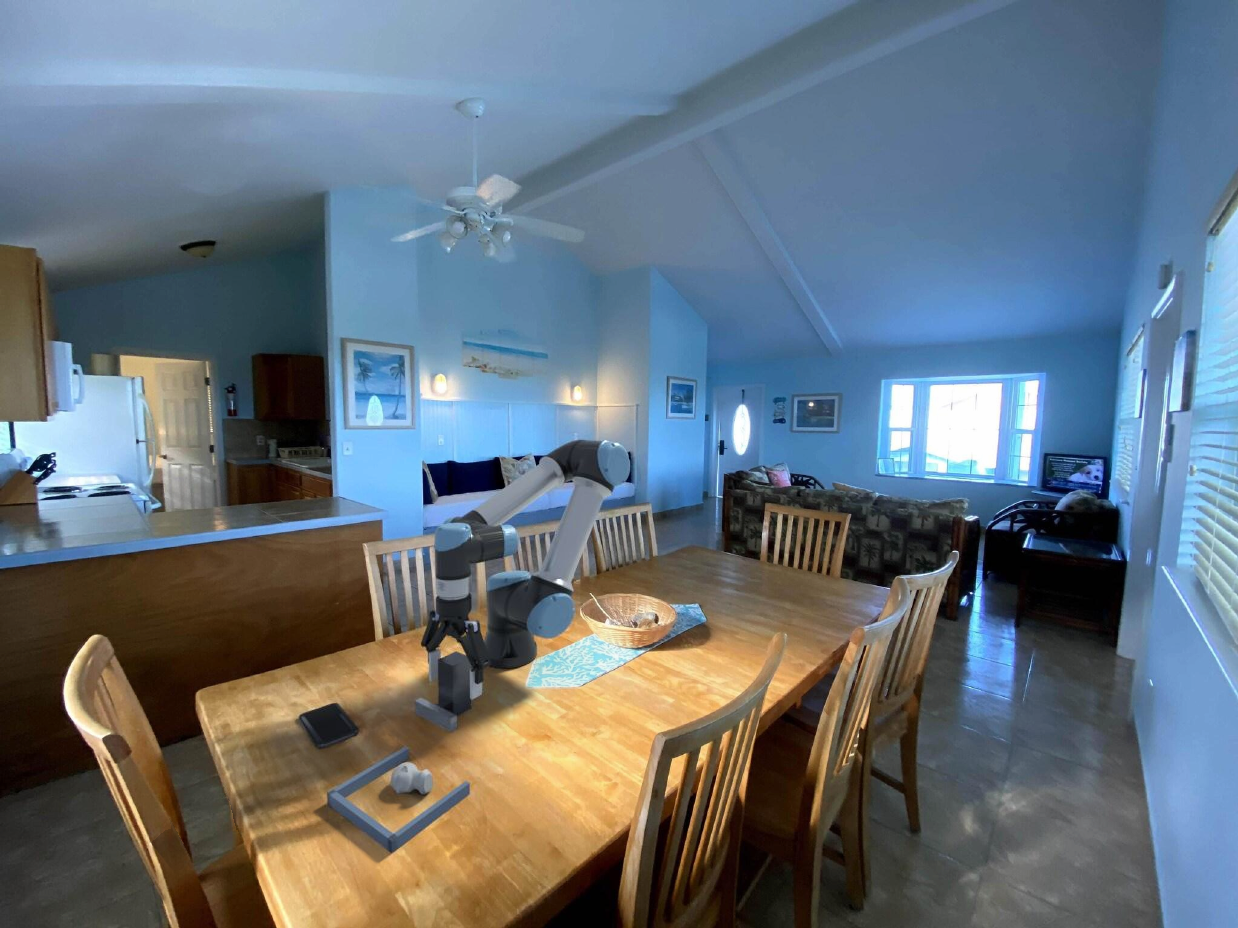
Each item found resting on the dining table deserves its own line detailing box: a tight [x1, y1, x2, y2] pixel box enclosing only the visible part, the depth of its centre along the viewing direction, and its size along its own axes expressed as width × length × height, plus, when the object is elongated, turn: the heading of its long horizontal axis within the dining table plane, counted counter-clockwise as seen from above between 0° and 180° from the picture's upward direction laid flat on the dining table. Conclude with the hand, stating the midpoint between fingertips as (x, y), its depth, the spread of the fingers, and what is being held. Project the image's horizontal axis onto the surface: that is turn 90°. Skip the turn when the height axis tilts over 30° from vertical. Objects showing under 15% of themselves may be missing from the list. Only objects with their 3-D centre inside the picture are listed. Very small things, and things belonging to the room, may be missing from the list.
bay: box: [326, 746, 471, 854], centre depth 90 cm, size 15×18×2 cm
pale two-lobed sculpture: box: [390, 761, 434, 795], centre depth 92 cm, size 4×8×5 cm
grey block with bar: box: [414, 650, 472, 733], centre depth 115 cm, size 8×12×12 cm
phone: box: [298, 702, 360, 750], centre depth 110 cm, size 8×1×15 cm
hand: (455, 687), depth 117 cm, fingers open, 13 cm apart
